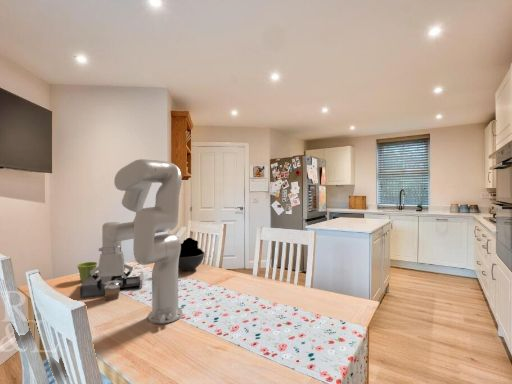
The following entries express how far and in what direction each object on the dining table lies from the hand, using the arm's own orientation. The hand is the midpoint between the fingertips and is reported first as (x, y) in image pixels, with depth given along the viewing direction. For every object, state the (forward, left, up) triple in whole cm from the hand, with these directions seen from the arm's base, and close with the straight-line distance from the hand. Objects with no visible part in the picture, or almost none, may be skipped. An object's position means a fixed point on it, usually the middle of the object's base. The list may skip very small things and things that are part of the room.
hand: (112, 287), depth 124 cm
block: (0, 0, -4) cm, 4 cm away
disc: (0, 0, +1) cm, 1 cm away
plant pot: (+30, +16, -5) cm, 34 cm away
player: (+14, +6, -4) cm, 16 cm away
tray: (+14, -5, -4) cm, 15 cm away
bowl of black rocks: (+31, -36, -5) cm, 48 cm away
